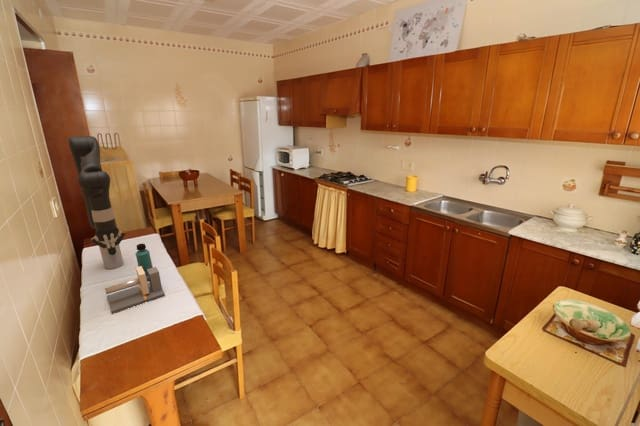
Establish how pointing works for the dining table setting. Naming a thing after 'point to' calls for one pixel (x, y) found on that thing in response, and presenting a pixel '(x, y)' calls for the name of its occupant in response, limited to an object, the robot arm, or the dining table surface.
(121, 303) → the mount board
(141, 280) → the beige rectangular block
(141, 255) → the beverage bottle
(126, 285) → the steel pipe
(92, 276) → the dining table surface
